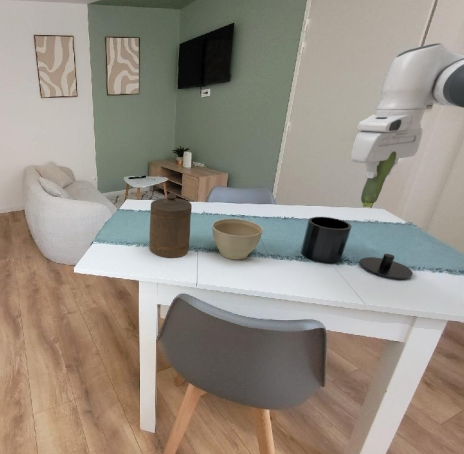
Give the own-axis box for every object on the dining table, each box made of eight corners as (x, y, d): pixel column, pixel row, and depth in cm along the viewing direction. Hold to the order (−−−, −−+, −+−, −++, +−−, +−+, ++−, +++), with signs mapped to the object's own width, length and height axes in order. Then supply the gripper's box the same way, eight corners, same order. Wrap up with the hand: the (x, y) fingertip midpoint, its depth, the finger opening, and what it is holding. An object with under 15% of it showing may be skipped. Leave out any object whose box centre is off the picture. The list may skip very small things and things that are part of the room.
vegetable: (356, 203, 83) (379, 130, 76) (376, 205, 81) (401, 130, 74) (359, 208, 80) (383, 132, 72) (380, 210, 78) (407, 132, 70)
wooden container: (183, 239, 118) (187, 187, 110) (193, 257, 105) (198, 199, 96) (147, 240, 119) (147, 189, 110) (152, 258, 105) (153, 201, 97)
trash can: (349, 259, 98) (360, 226, 93) (324, 266, 95) (334, 232, 90) (316, 246, 108) (325, 214, 103) (293, 251, 105) (300, 219, 100)
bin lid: (421, 275, 88) (428, 260, 86) (394, 284, 85) (400, 269, 83) (375, 257, 99) (379, 243, 97) (349, 264, 96) (353, 250, 94)
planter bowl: (248, 244, 112) (252, 217, 108) (265, 265, 97) (271, 236, 93) (205, 244, 114) (208, 218, 110) (215, 265, 99) (219, 236, 95)
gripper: (406, 118, 78) (389, 170, 83) (353, 123, 72) (338, 178, 77) (438, 119, 72) (417, 174, 78) (383, 124, 66) (364, 183, 72)
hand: (377, 176), depth 77 cm, fingers closed on vegetable, 4 cm apart
